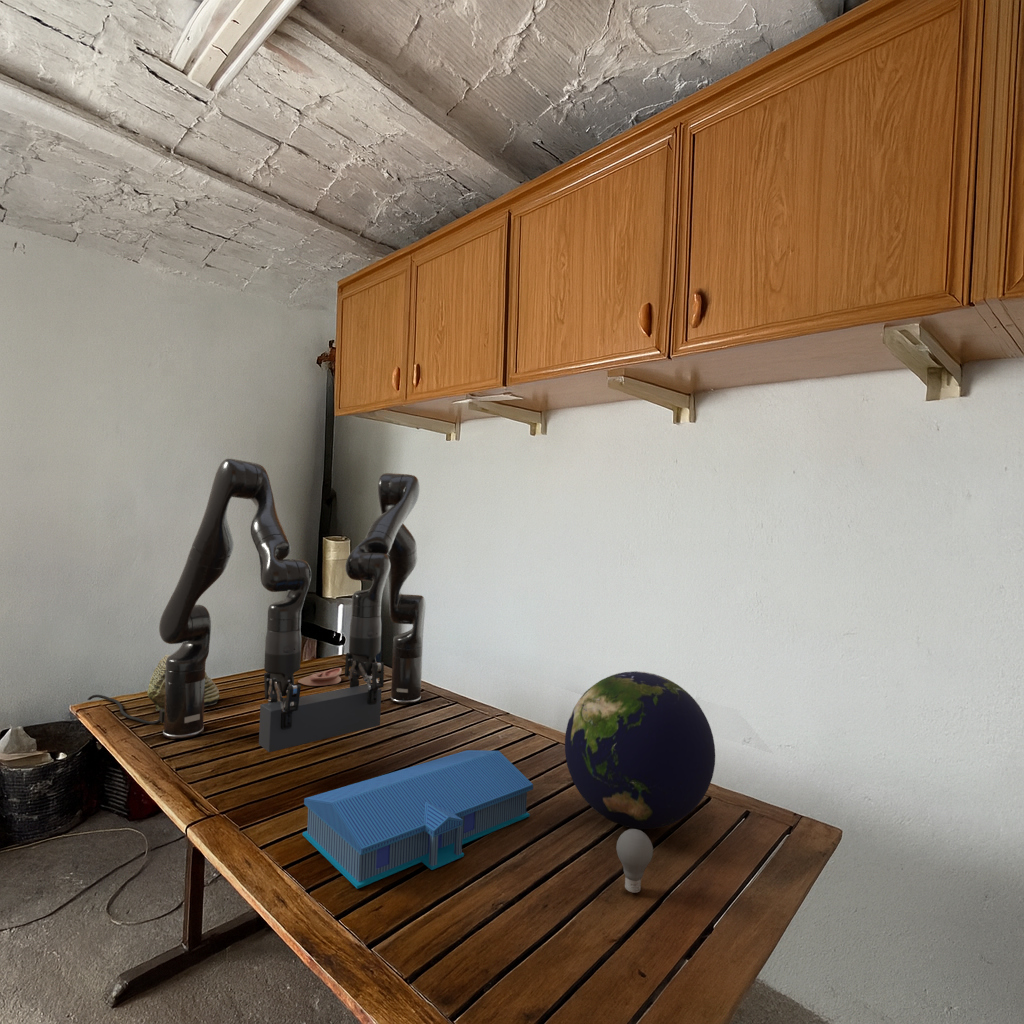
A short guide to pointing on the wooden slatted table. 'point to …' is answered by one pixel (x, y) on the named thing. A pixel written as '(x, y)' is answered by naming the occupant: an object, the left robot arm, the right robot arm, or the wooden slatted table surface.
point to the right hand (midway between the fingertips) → (362, 699)
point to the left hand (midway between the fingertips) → (280, 724)
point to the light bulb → (634, 857)
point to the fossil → (158, 687)
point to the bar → (319, 718)
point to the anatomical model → (322, 678)
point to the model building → (416, 814)
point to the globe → (640, 750)
